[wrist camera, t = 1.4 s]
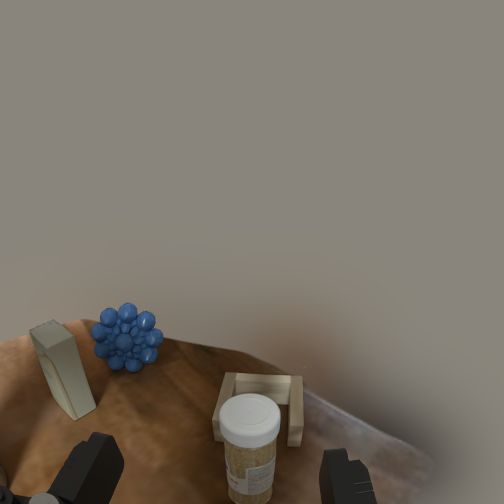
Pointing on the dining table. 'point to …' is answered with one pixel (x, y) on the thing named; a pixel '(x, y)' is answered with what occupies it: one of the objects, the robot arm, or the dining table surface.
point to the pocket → (271, 387)
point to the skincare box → (63, 368)
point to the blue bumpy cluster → (126, 338)
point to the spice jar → (250, 446)
